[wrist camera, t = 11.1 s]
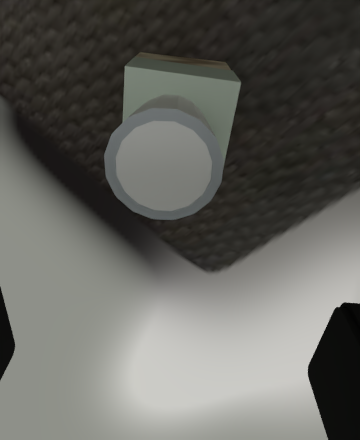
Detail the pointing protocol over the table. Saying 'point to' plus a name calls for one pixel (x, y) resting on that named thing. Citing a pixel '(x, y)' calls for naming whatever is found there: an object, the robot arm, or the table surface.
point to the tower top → (185, 91)
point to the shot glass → (164, 159)
